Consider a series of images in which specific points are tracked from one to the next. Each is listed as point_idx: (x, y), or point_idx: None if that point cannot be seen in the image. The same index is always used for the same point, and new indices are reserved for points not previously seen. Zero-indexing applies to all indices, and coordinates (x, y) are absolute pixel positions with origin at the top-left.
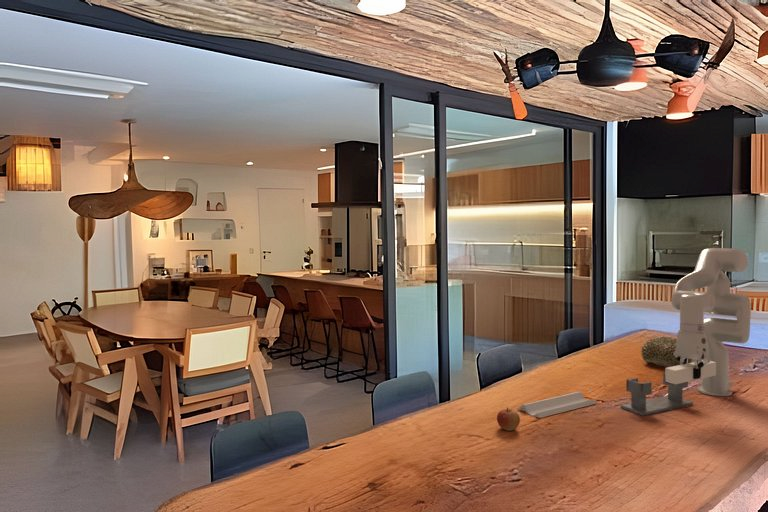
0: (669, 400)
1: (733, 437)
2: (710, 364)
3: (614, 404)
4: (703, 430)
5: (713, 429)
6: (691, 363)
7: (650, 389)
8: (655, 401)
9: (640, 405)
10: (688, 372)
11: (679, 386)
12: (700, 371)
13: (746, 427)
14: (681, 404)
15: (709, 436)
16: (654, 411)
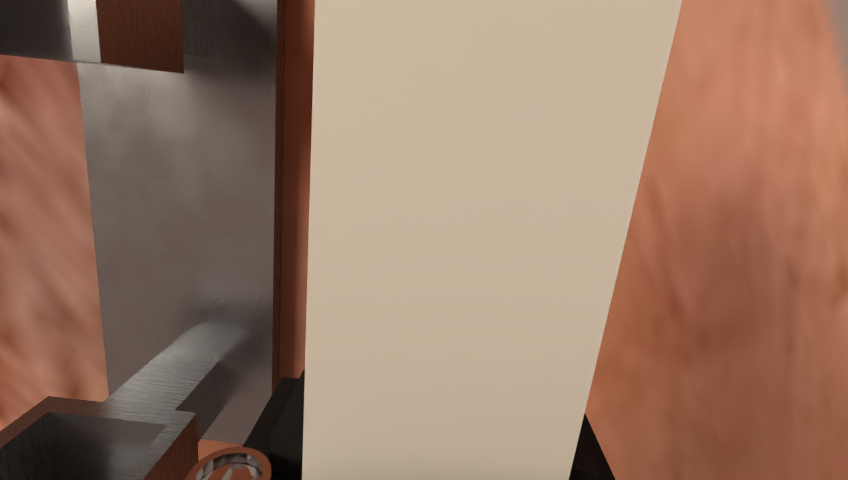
0: (168, 75)
1: (757, 349)
2: (656, 40)
3: (58, 392)
4: (601, 378)
5: (630, 320)
6: (347, 439)
7: (175, 449)
8: (144, 189)
9: (208, 418)
10: None
11: (172, 59)
12: (604, 472)
13: (756, 116)
14: (275, 88)
15: (662, 431)
16: (274, 349)
